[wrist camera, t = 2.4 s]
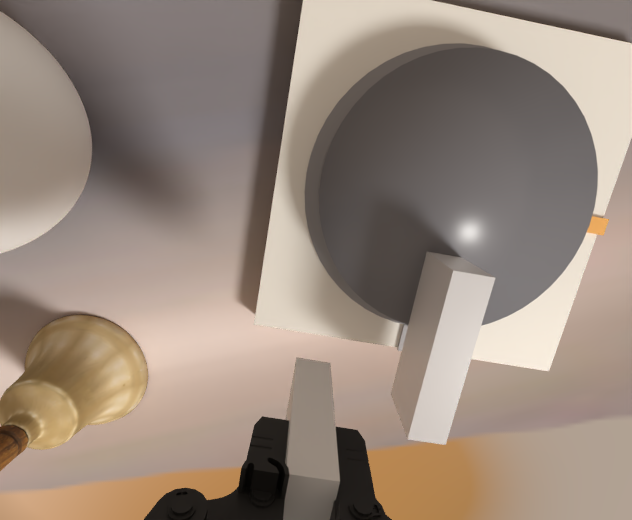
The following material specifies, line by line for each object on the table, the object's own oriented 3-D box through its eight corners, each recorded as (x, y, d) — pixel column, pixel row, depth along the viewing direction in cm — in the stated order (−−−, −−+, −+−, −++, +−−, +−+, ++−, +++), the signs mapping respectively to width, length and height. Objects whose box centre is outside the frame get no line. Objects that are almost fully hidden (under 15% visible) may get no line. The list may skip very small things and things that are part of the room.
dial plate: (256, 317, 26) (253, 327, 24) (307, -14, 22) (307, -29, 20) (538, 361, 27) (553, 374, 26) (642, 58, 23) (669, 49, 21)
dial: (345, 32, 20) (360, -21, 15) (609, 87, 21) (723, 57, 16) (286, 361, 25) (280, 421, 19) (507, 395, 26) (565, 461, 20)
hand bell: (6, 332, 26) (-432, 574, 11) (121, 300, 26) (-161, 501, 10) (59, 433, 28) (-248, 763, 13) (166, 404, 28) (-14, 707, 12)
